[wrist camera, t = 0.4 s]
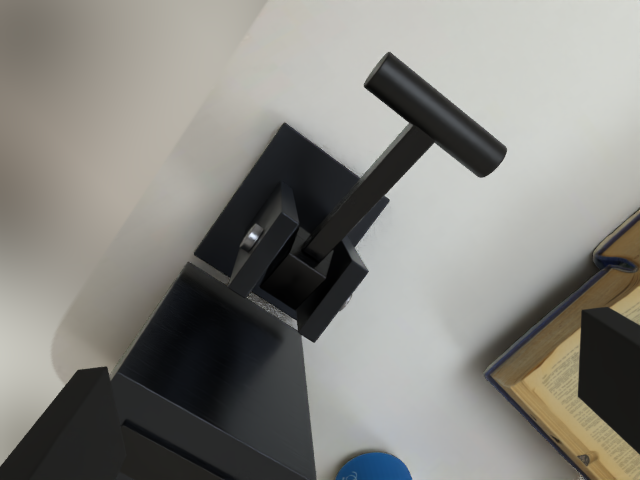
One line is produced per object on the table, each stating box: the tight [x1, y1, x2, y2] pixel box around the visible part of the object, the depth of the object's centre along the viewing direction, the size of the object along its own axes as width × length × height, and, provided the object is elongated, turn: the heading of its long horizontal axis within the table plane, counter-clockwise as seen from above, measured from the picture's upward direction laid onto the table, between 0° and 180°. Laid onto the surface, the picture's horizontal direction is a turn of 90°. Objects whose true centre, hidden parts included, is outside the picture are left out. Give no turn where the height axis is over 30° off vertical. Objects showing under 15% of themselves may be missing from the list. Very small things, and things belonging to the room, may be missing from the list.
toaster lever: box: [260, 52, 507, 310], centre depth 22 cm, size 12×6×2 cm, turn 144°
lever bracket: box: [194, 123, 390, 343], centre depth 29 cm, size 11×9×13 cm
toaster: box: [109, 262, 317, 480], centre depth 29 cm, size 10×10×16 cm
